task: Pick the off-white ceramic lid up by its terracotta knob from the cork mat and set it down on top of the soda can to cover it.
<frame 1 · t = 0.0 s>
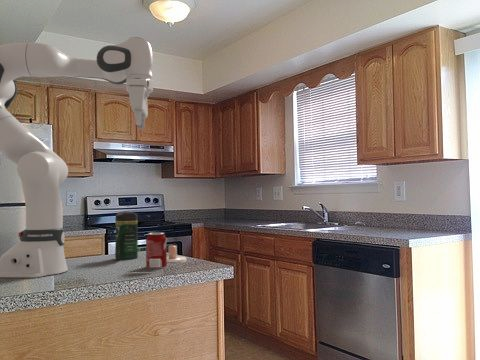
hand: (139, 126, 144), 48 cm above the counter, fingers open, 8 cm apart
mat: (172, 262, 157), on the counter
lid: (172, 260, 157), point 1 cm above the counter, touching mat
soda can: (156, 269, 143), on the counter
coffee jar: (126, 259, 165), on the counter
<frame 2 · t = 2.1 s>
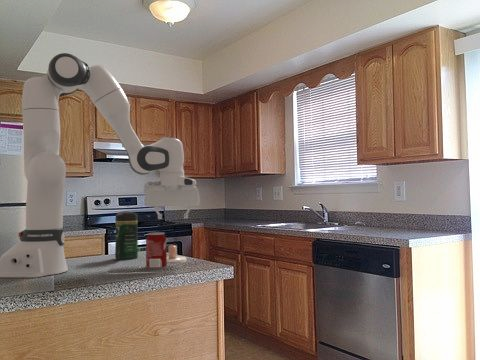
hand: (172, 218, 157), 16 cm above the counter, fingers open, 8 cm apart
nothing on the counter moved.
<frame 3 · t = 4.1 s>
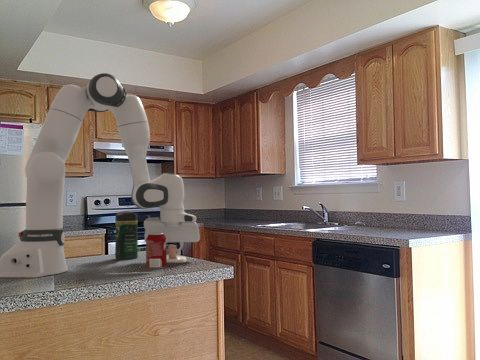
hand: (172, 254, 157), 3 cm above the counter, fingers closed on lid, 3 cm apart
lid: (172, 260, 157), point 1 cm above the counter, touching gripper, mat
everything else where it was.
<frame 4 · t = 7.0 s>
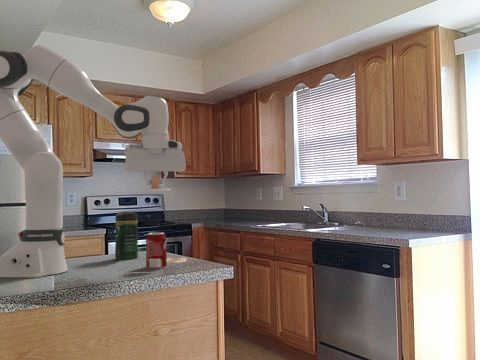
hand: (155, 184, 144), 28 cm above the counter, fingers closed on lid, 3 cm apart
lid: (155, 191, 144), point 26 cm above the counter, touching gripper
everything else where it was.
when the fingers open (15 cm above the counter, at t = 9.9 s): lid drops 1 cm, resting on soda can.
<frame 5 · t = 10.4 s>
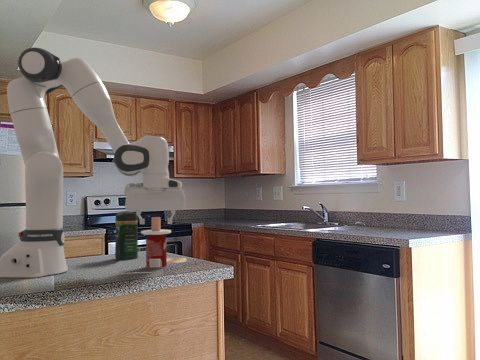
hand: (156, 223, 144), 15 cm above the counter, fingers open, 8 cm apart
lid: (156, 233, 144), point 12 cm above the counter, touching soda can
soda can: (156, 269, 143), on the counter, touching lid
everything else where it was.
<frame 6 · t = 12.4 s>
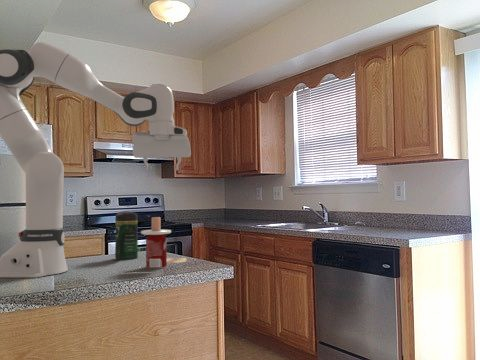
hand: (162, 170, 150), 33 cm above the counter, fingers open, 8 cm apart
nothing on the counter moved.
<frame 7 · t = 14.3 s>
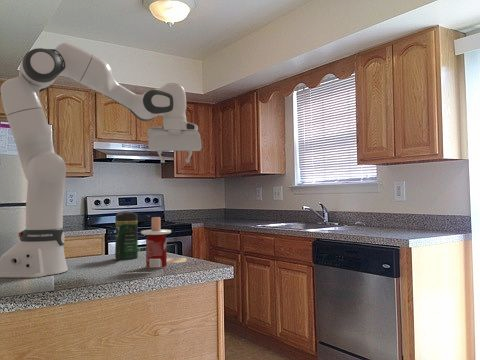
hand: (175, 162, 163), 37 cm above the counter, fingers open, 8 cm apart
nothing on the counter moved.
at the end: lid 0.1 cm from the soda can (horizontally); lid point 12.0 cm above the counter; the gripper is holding nothing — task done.
